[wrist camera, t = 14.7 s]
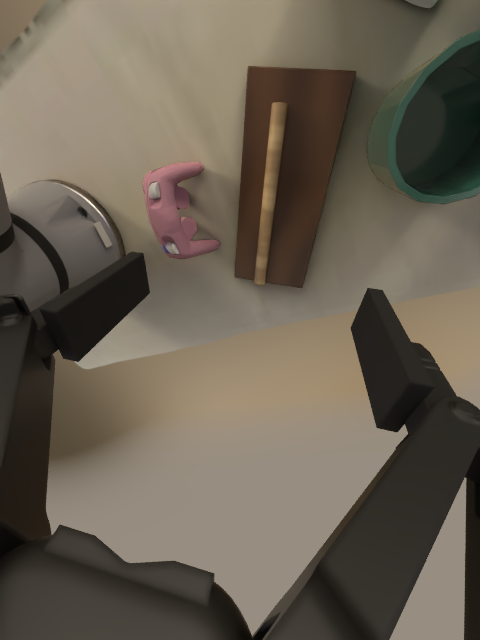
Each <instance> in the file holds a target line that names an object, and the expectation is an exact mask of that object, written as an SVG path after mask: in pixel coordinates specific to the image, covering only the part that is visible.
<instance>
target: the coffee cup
mask: <svg viewBox="0 0 480 640" xmlns="http://www.w3.org/2000/svg"><path fill="white" fill-rule="evenodd" d="M367 158H368V162H369V165H370V168H371V170H372V172H373V173H374V175H375V176H376V178H377V179H378V180H379V181H381V182H382V183H383V184H385V185H387V186H388V187H390V188H391V189H393V190H395V191H397V192H399V193H402V194H404V195H406V196H408V197H410V198H412V199H414V200H416V201H418V202H427V203H436V204H447V203H451V202H455V201H459V200H463V199H467V198H471V197H474V196H476V195H478V194H479V193H480V29H479V30H476V31H474V32H472V33H470V34H467V35H465V36H463V37H460V38H459V39H457V40H456V41H455V42H453V43H452V44H450V45H449V46H447V47H446V48H445V49H443V50H442V51H440V52H439V53H438V54H436V55H435V56H433V57H432V58H431V59H429V60H428V61H426V62H425V63H423V64H422V65H421V66H419V67H418V68H416V69H415V70H414V71H413V72H412V73H410V74H409V75H408V76H407V77H406V78H404V79H403V80H402V81H401V82H400V83H399V84H398V85H397V86H395V87H394V88H393V89H392V90H391V92H390V93H389V94H388V95H387V97H386V98H385V100H384V101H383V102H382V104H381V106H380V107H379V109H378V111H377V112H376V115H375V117H374V119H373V121H372V124H371V127H370V130H369V134H368V140H367Z"/></svg>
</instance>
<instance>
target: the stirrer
mask: <svg viewBox="0 0 480 640" xmlns="http://www.w3.org/2000/svg"><path fill="white" fill-rule="evenodd" d="M287 108H288V104H287V103H281V102H274V103H272V108H271V118H270V128H269V138H268V148H267V158H266V168H265V178H264V188H263V198H262V208H261V218H260V228H259V238H258V248H257V258H256V268H255V278H254V283H255V284H256V285H264V284H265V279H266V271H267V263H268V255H269V248H270V240H271V232H272V224H273V217H274V209H275V201H276V193H277V186H278V178H279V170H280V162H281V155H282V147H283V139H284V131H285V123H286V116H287Z"/></svg>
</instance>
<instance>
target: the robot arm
mask: <svg viewBox="0 0 480 640" xmlns="http://www.w3.org/2000/svg"><path fill="white" fill-rule="evenodd" d="M149 293H150V290H149V284H148V278H147V272H146V266H145V260H144V254H143V253H137V252H130V253H129V254H127V255H126V256H125V252H124V246H123V242H122V239H121V236H120V234H119V232H118V229H117V227H116V226H115V224H114V222H113V220H112V219H111V217H110V216H109V215H108V213H107V212H106V211H105V210H104V208H103V207H102V206H101V205H100V204H99V203H98V202H97V201H96V200H95V199H94V198H93V197H91V196H90V195H89V194H88V193H86V192H85V191H83V190H82V189H80V188H79V187H77V186H75V185H73V184H70V183H68V182H64V181H60V180H43V181H36V182H33V183H30V184H28V185H25V186H23V187H22V188H20V189H19V190H17V191H16V192H15V193H13V194H12V195H10V196H9V197H7V198H6V194H5V190H4V186H3V182H2V178H1V174H0V640H389V639H390V637H391V635H392V633H393V630H394V628H395V626H396V624H397V622H398V619H399V617H400V615H401V613H402V611H403V609H404V607H405V604H406V602H407V600H408V598H409V596H410V594H411V591H412V590H413V587H414V585H415V583H416V581H417V579H418V577H419V574H420V572H421V570H422V568H423V566H424V564H425V562H426V559H427V557H428V555H429V553H430V551H431V549H432V546H433V544H434V542H435V540H436V538H437V536H438V534H439V531H440V529H441V527H442V525H443V523H444V520H445V519H446V516H447V514H448V512H449V510H450V508H451V506H452V503H453V501H454V499H455V497H456V495H457V493H458V491H459V488H460V486H461V484H462V482H463V480H464V477H466V478H467V483H466V485H467V486H466V553H465V618H464V619H465V621H464V624H465V625H464V627H465V628H464V640H480V410H479V409H478V408H477V407H476V406H474V405H473V404H471V403H470V402H469V401H467V400H464V399H462V398H460V397H457V396H456V394H455V392H454V391H453V389H452V388H451V386H450V384H449V383H448V381H447V379H446V378H445V376H444V374H443V373H442V371H440V368H439V367H438V365H437V363H435V360H434V358H433V356H432V355H431V353H430V352H429V351H428V350H427V349H426V348H424V347H423V346H422V345H421V344H419V343H413V342H411V341H410V339H409V338H408V336H407V334H406V332H405V330H404V329H403V327H402V325H401V323H400V321H399V319H398V318H397V316H396V314H395V312H394V310H393V308H392V307H391V305H390V303H389V301H388V299H387V297H386V296H385V294H384V292H383V290H378V289H371V288H367V291H366V293H365V295H364V298H363V300H362V302H361V305H360V307H359V310H358V312H357V314H356V317H355V319H354V321H353V324H352V326H351V331H352V335H353V339H354V342H355V346H356V350H357V354H358V358H359V362H360V366H361V369H362V373H363V377H364V381H365V385H366V389H367V392H368V396H369V400H370V404H371V408H372V412H373V415H374V419H375V423H376V427H377V428H380V429H384V430H389V431H394V432H398V431H399V430H400V429H401V427H402V426H403V425H404V424H405V426H406V428H407V431H408V435H407V436H406V437H405V438H404V439H403V440H402V441H401V442H400V444H399V445H398V446H397V447H396V450H395V451H394V452H393V454H392V455H391V456H390V458H389V459H388V460H387V462H386V463H385V464H384V466H383V467H382V468H381V470H380V471H379V472H378V473H377V475H376V476H375V478H374V479H373V480H372V481H371V483H370V484H369V485H368V487H367V488H366V489H365V491H364V492H363V493H362V495H361V496H360V497H359V499H358V500H357V501H356V503H355V504H354V505H353V506H352V508H351V509H350V510H349V512H348V513H347V515H346V516H345V517H344V518H343V520H342V521H341V522H340V524H339V525H338V526H337V528H336V529H335V530H334V532H333V533H332V534H331V535H330V537H329V538H328V539H327V541H326V542H325V543H324V545H323V546H322V547H321V549H320V550H319V551H318V553H317V554H316V555H315V557H314V558H313V559H312V560H311V562H310V563H309V564H308V566H307V567H306V569H305V570H304V571H303V572H302V574H301V575H300V576H299V578H298V579H297V580H296V581H295V583H294V584H293V585H292V587H291V588H290V589H289V590H288V592H287V593H286V594H285V595H284V597H283V598H282V599H281V600H280V601H279V602H278V604H277V605H276V606H275V608H274V609H273V610H272V611H271V613H270V614H269V615H268V617H267V618H266V619H265V620H264V622H263V623H262V624H261V626H260V627H259V628H258V630H257V631H256V632H255V634H254V635H253V636H252V635H251V633H250V630H249V628H248V625H247V623H246V621H245V619H244V617H243V616H242V614H241V612H240V610H239V608H238V607H237V605H236V604H235V603H234V601H233V600H232V598H231V597H230V596H229V595H228V594H227V593H226V592H225V591H224V589H222V588H221V587H220V586H219V585H218V584H216V583H215V582H214V573H211V572H208V571H205V570H201V569H198V568H195V567H192V566H189V565H186V564H183V563H179V562H176V561H162V562H145V563H127V562H125V561H123V559H121V558H120V557H119V556H118V555H117V554H116V553H114V552H113V551H112V550H111V549H110V548H109V547H108V546H106V545H105V544H104V543H103V542H102V541H101V540H99V539H98V538H97V537H96V536H94V535H91V534H88V533H85V532H82V531H78V530H75V529H72V528H69V527H66V526H62V525H59V526H58V528H57V530H56V531H55V533H54V534H53V535H51V528H50V523H49V520H48V518H47V514H46V493H47V477H48V462H49V448H50V433H51V418H52V402H53V386H54V371H55V358H54V356H53V353H54V352H56V351H57V350H58V349H59V350H60V353H61V355H62V357H63V358H64V359H68V360H72V361H77V362H79V361H80V360H81V359H82V358H83V357H84V356H85V355H86V354H87V353H88V352H89V351H90V350H91V349H92V348H93V347H94V346H95V345H96V344H97V343H98V342H99V341H100V340H101V339H102V338H103V337H105V336H106V335H107V334H108V333H109V332H110V331H111V330H112V329H113V328H114V327H115V326H116V325H117V324H118V323H119V322H120V321H121V320H122V319H123V318H124V317H125V316H126V315H127V314H128V313H129V312H131V311H132V310H133V309H134V308H135V307H136V306H137V305H138V304H139V303H140V302H141V301H142V300H143V299H144V298H145V297H146V296H147V295H148V294H149Z"/></svg>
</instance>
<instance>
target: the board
mask: <svg viewBox="0 0 480 640" xmlns="http://www.w3.org/2000/svg"><path fill="white" fill-rule="evenodd" d="M355 75H356V71H346V70H324V69H302V68H280V67H258V66H248V74H247V90H246V105H245V121H244V137H243V153H242V169H241V184H240V200H239V216H238V232H237V248H236V263H235V277H237V278H243V279H249V280H254V278H255V268H256V258H257V248H258V238H259V228H260V218H261V208H262V198H263V188H264V178H265V168H266V158H267V148H268V138H269V128H270V118H271V108H272V103H274V102H281V103H287V104H288V108H287V116H286V123H285V131H284V139H283V147H282V155H281V162H280V170H279V178H278V186H277V193H276V201H275V209H274V217H273V224H272V232H271V240H270V248H269V255H268V263H267V271H266V279H265V282H267V283H273V284H280V285H286V286H292V287H298V288H303V284H304V280H305V276H306V272H307V268H308V264H309V260H310V256H311V252H312V248H313V244H314V240H315V236H316V232H317V227H318V223H319V219H320V215H321V211H322V207H323V203H324V199H325V195H326V191H327V187H328V183H329V179H330V175H331V171H332V167H333V163H334V159H335V155H336V151H337V147H338V143H339V139H340V135H341V131H342V127H343V123H344V119H345V115H346V111H347V107H348V103H349V99H350V95H351V91H352V87H353V83H354V79H355Z"/></svg>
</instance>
